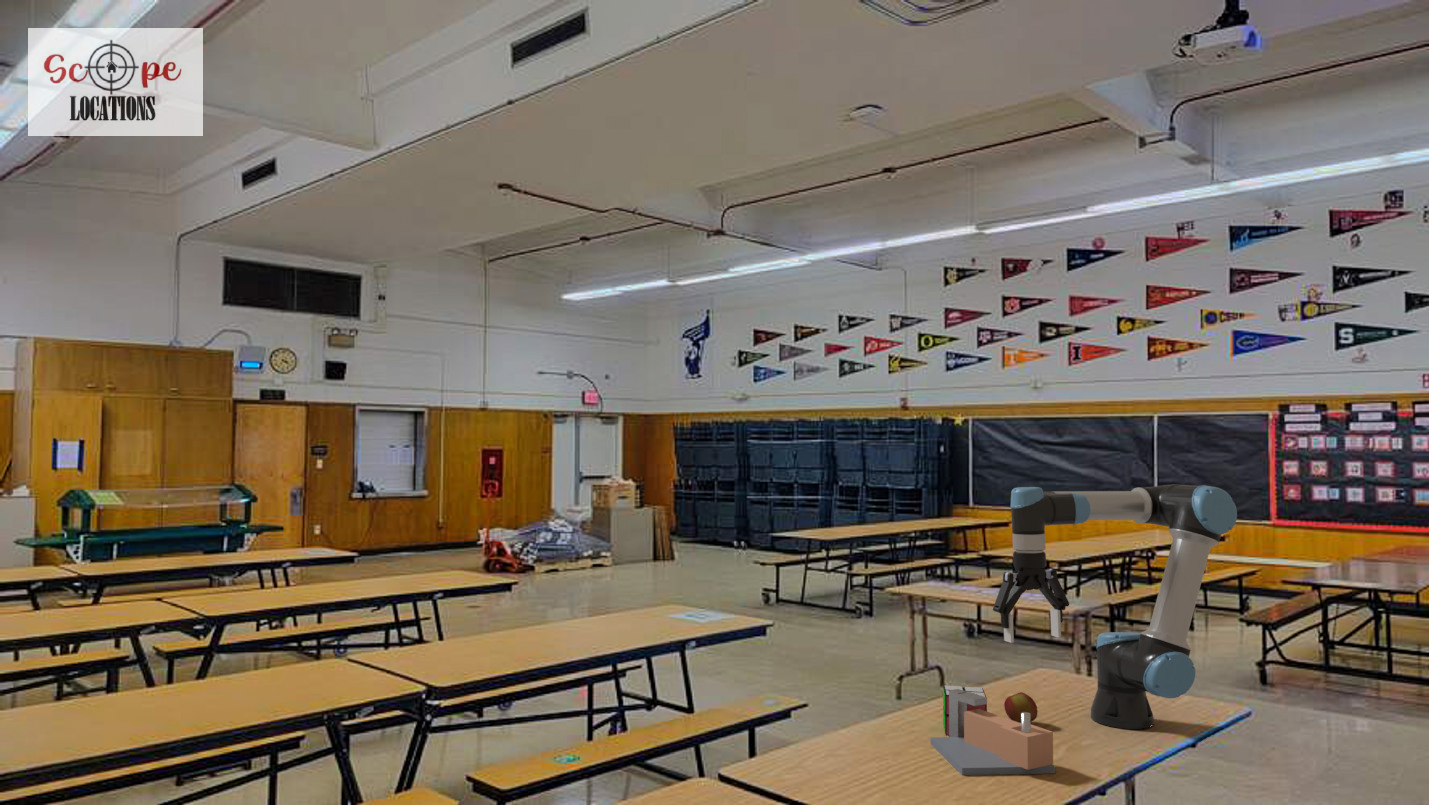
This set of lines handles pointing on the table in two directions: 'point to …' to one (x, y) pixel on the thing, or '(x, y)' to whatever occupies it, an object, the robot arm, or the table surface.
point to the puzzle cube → (969, 707)
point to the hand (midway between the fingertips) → (1032, 639)
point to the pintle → (1025, 722)
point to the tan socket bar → (1008, 739)
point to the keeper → (961, 709)
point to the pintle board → (978, 759)
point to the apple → (1020, 706)
